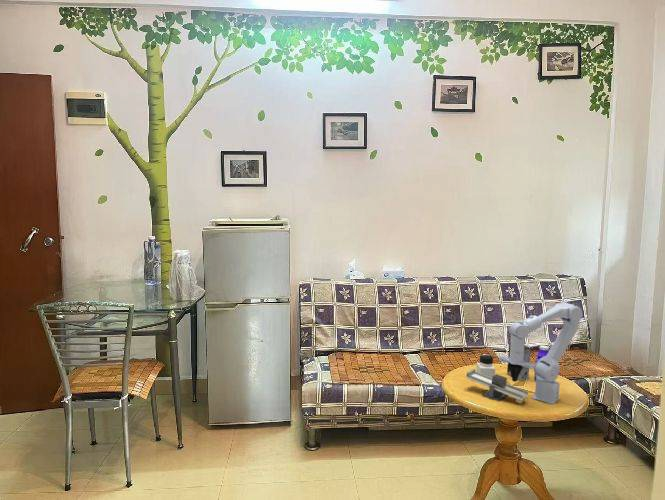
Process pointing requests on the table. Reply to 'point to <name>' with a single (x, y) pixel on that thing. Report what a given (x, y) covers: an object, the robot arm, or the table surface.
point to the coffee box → (525, 371)
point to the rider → (499, 381)
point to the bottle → (541, 354)
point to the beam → (508, 390)
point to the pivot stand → (494, 394)
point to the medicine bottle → (486, 365)
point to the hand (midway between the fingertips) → (514, 380)
